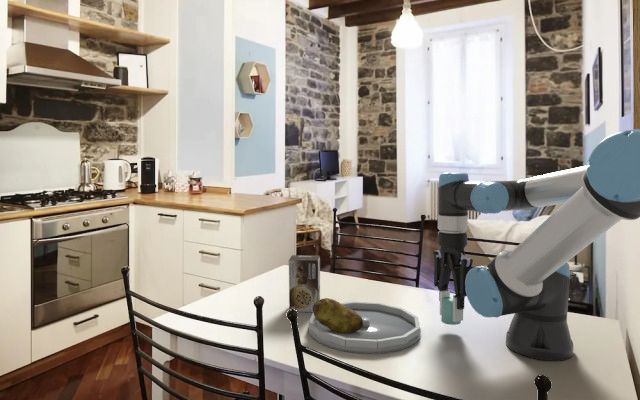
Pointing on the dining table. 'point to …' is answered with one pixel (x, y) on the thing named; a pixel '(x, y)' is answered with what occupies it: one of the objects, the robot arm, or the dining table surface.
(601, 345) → the dining table surface
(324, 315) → the potato
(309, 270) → the coffee box
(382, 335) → the ring tray
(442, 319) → the bead
